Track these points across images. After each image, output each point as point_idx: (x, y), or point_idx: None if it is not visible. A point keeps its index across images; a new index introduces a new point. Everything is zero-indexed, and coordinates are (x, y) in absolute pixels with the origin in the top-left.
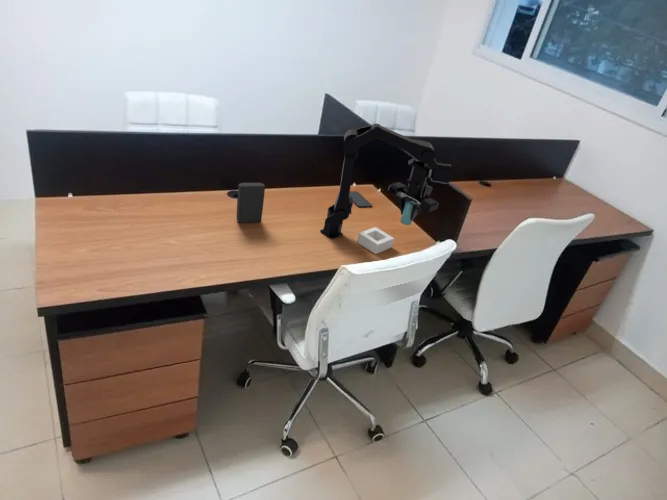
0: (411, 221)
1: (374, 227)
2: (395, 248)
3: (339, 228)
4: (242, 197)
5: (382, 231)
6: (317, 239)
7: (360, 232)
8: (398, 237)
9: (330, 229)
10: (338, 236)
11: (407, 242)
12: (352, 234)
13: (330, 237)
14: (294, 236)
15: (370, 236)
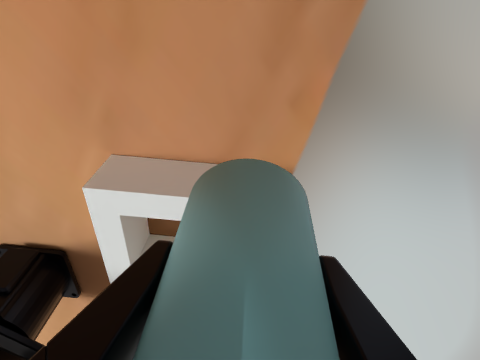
0: (313, 230)
1: (86, 196)
2: (263, 157)
3: (46, 299)
4: None
5: (144, 194)
6: (69, 315)
7: (110, 281)
8: (189, 22)
9: (46, 321)
10: (72, 271)
11: (271, 24)
12: (68, 218)
13: (74, 297)
14: (36, 338)
15: (135, 222)
